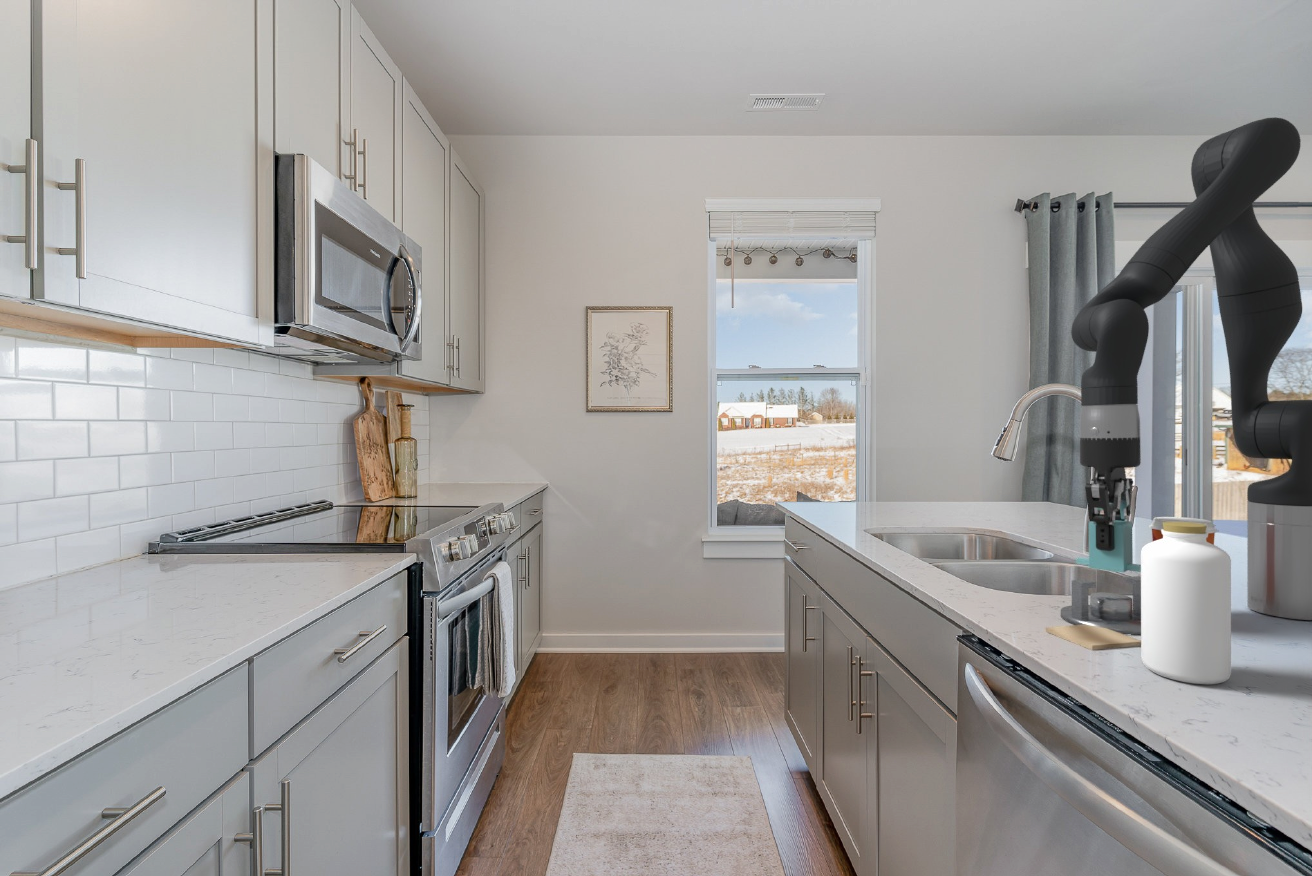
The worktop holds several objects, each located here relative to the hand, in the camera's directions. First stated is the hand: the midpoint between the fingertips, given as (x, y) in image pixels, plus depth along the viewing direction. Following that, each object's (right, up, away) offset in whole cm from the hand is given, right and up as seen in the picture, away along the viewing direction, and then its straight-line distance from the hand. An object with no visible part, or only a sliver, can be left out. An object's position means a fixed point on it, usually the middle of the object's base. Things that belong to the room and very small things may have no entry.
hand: (1110, 547), depth 98 cm
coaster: (-8, -11, -8) cm, 16 cm away
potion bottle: (-6, -12, -21) cm, 25 cm away
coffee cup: (+13, -11, +2) cm, 17 cm away
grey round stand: (0, -11, 0) cm, 11 cm away
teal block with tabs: (0, -3, 0) cm, 3 cm away
